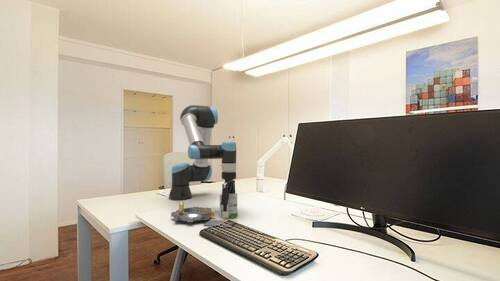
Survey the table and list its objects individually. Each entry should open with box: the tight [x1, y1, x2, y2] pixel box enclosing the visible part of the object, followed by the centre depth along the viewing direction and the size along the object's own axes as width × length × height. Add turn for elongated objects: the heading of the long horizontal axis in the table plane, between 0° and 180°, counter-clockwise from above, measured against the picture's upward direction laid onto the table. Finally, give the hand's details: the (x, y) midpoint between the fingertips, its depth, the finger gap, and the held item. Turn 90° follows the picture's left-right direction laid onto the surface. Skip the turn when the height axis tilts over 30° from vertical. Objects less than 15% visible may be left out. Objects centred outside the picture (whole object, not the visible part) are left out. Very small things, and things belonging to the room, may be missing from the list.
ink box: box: [219, 193, 238, 219], centre depth 132 cm, size 9×5×12 cm, turn 84°
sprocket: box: [170, 201, 216, 223], centre depth 128 cm, size 21×21×8 cm
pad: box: [203, 218, 237, 227], centre depth 120 cm, size 9×13×1 cm
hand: (228, 214), depth 132 cm, fingers open, 9 cm apart
